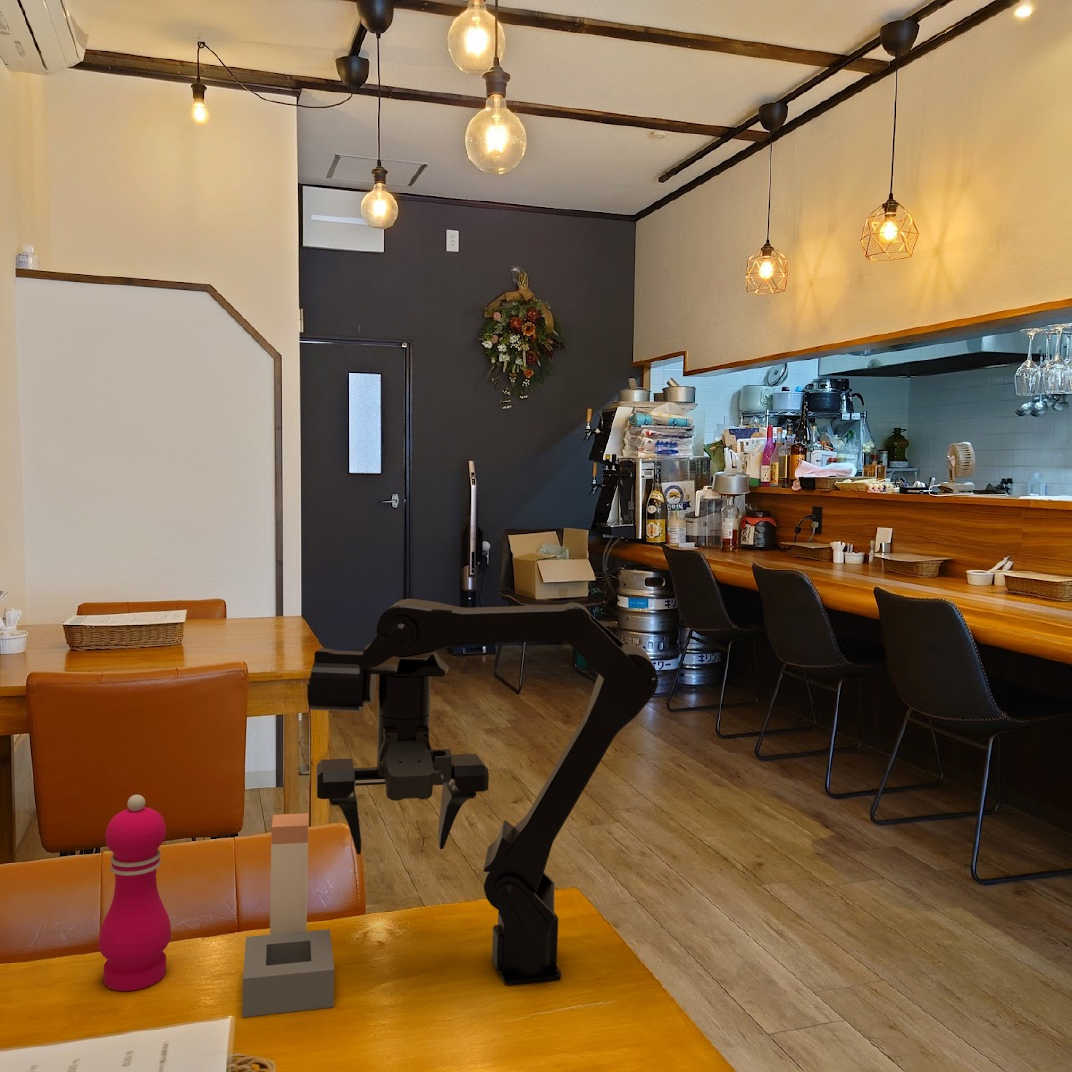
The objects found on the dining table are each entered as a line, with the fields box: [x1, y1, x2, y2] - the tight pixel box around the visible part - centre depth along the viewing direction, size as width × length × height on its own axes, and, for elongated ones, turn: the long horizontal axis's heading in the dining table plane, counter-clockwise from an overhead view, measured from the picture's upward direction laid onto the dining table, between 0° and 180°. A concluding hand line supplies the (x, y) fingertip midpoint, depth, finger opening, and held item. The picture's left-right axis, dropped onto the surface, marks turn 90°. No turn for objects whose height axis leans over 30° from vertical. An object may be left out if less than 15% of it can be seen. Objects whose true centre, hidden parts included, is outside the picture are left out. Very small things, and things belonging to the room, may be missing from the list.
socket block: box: [241, 928, 335, 1018], centre depth 101 cm, size 9×9×4 cm
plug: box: [269, 812, 310, 935], centre depth 110 cm, size 4×4×15 cm
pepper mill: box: [98, 794, 172, 992], centre depth 102 cm, size 7×7×20 cm
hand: (400, 850), depth 107 cm, fingers open, 9 cm apart
